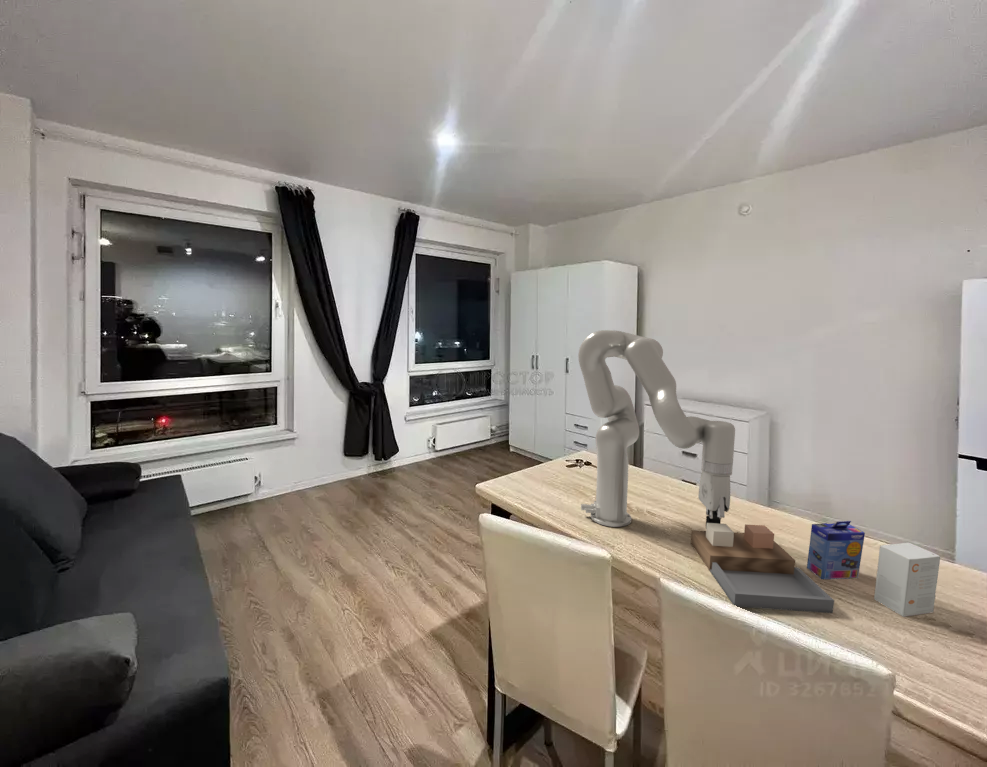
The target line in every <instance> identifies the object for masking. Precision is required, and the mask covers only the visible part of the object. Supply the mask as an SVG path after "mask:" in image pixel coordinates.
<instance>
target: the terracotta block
mask: <svg viewBox="0 0 987 767" xmlns="http://www.w3.org/2000/svg"><path fill="white" fill-rule="evenodd" d="M743 530H744V532H743V533H744V539H745V540H746V541H747V542H748V543H749V544H750V545H751V546H752V547H753V548H770V549H773V544H774V541H775V533H774V532H773V531H771V530H770V529H769V528H768V527H767V526H766V525H765V524H744V529H743Z"/></svg>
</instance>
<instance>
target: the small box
mask: <svg viewBox="0 0 987 767" xmlns="http://www.w3.org/2000/svg"><path fill="white" fill-rule="evenodd" d="M878 551H879V552H878V562H877V568H876V570H877V571H876V580H875V590H874V595H873V596H874V597H873V599H874V601H875V600H876V602H877V601H878V603H879V602H880V603H879V604H881V603H882V604H883V606H884V605H885V606H884V607H886V606H887V607H886V608H888V609H889V608H890V609H889V610H891V609H892V610H891V611H893V612H894V611H895V612H894V613H896V614H898V615H899V616H901V617H903V618H904V617H910V616H916V615H924V614H931V613H934V608H935V602H936V600H935V599H936V592H937V586H938V585H937V584H938V578H939V577H938V576H939V570H940V561H941V556H940V555H939V554H937V553H934V552H932V551H931V550H928V549H926V548H923V547H920V546H919V545H916V544H914V543H911V542H901V543H894V544H893V543H892V544H883V545H879V550H878ZM882 604H881V605H882Z"/></svg>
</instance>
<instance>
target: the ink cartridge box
mask: <svg viewBox="0 0 987 767" xmlns="http://www.w3.org/2000/svg"><path fill="white" fill-rule="evenodd" d="M851 523H852V521H851V520H846V521H845V520H844V521H843V520H841V521H840V520H839V521H836V522H834V523H827V522H826V523H812V524H811V528H810V529H811V531H810V537H809V546H808V555H807V561H806V562H807V564H806V569H808V571H810V572H812V573H813V574H814V575H815V576H816V577H818V578H819V579H820V578H821V579H820V580H822V579H823V580H824V579H825V580H849V579H850V578H857V579H859V574H860V567H861V560H862V555H863V548H864V541H865V536H866V535H865V534H866V532H864V531H862V530H861V529H859V528H857V527H856V526H854V525H852V524H851ZM823 580H822V581H823Z"/></svg>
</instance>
